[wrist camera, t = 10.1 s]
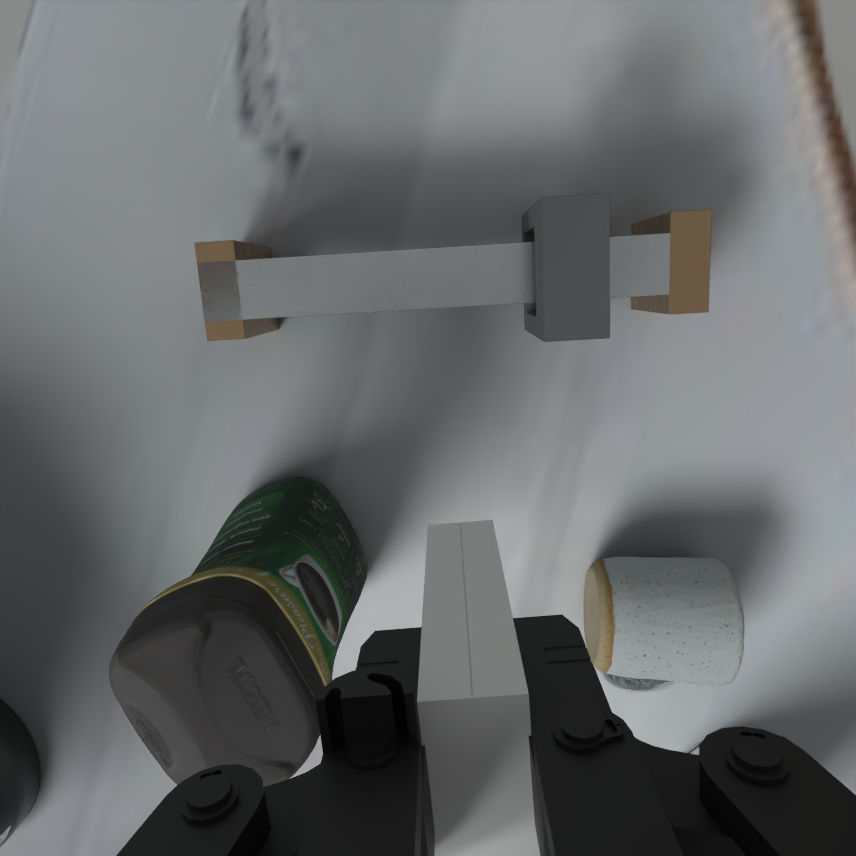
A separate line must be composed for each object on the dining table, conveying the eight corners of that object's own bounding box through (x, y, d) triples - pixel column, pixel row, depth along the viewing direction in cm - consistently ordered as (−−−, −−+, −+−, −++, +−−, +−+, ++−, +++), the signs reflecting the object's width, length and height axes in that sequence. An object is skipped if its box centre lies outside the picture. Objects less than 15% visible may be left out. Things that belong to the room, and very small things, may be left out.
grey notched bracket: (524, 329, 38) (544, 341, 30) (521, 215, 37) (541, 197, 29) (576, 326, 38) (609, 338, 30) (575, 212, 37) (610, 192, 29)
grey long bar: (247, 331, 41) (206, 341, 34) (237, 249, 40) (193, 242, 33) (664, 307, 40) (709, 312, 33) (665, 222, 39) (712, 209, 32)
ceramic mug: (580, 538, 44) (607, 593, 36) (704, 538, 43) (757, 594, 36) (574, 677, 46) (598, 756, 39) (691, 678, 46) (738, 758, 38)
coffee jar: (216, 506, 44) (53, 664, 26) (319, 457, 43) (225, 586, 25) (285, 625, 46) (177, 851, 28) (385, 581, 45) (342, 785, 27)
